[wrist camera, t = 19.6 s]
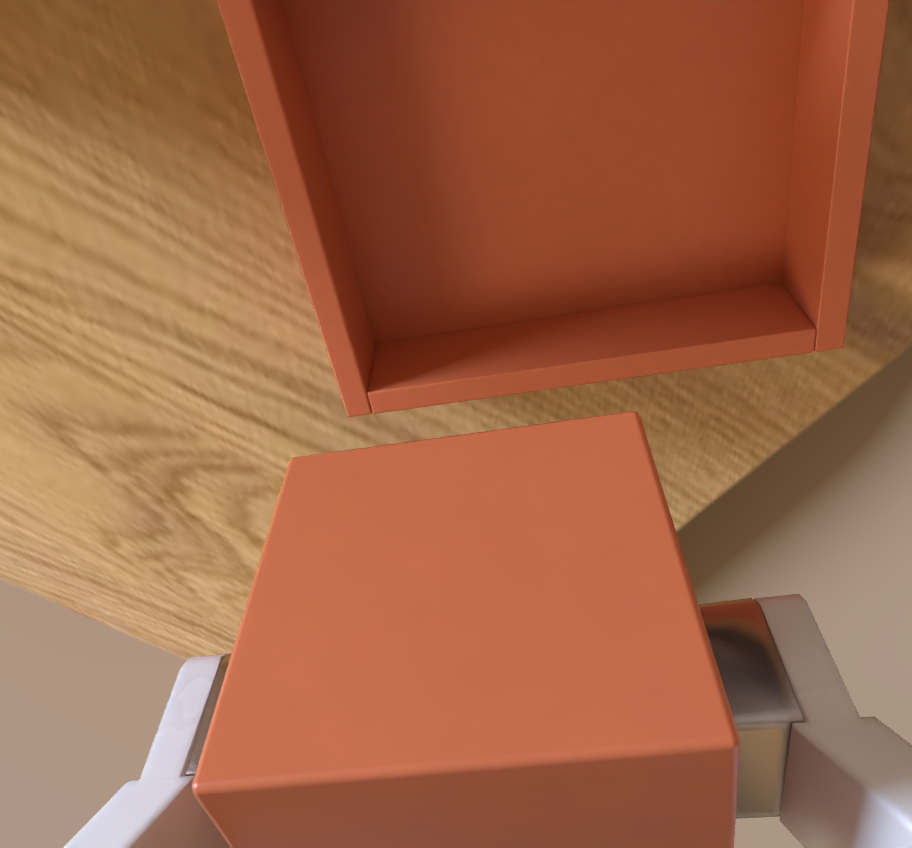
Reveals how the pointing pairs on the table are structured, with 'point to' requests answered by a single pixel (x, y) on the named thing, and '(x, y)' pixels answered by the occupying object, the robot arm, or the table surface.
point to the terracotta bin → (562, 182)
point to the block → (474, 656)
